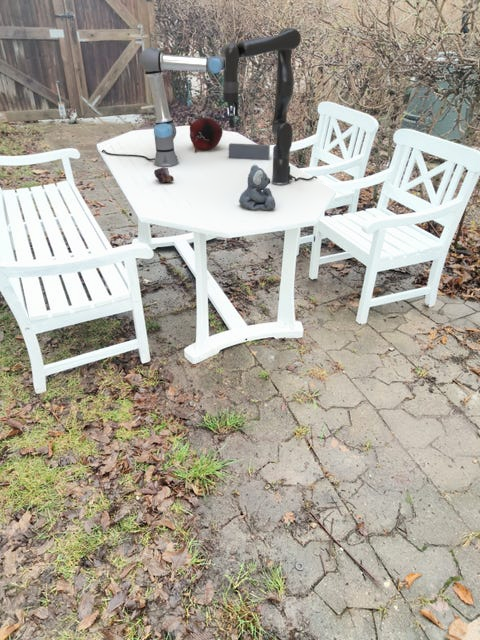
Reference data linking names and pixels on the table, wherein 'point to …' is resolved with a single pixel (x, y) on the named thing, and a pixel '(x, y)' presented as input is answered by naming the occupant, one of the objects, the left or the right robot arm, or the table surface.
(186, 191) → the table surface
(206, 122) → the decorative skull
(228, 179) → the table surface
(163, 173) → the rock
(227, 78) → the right robot arm
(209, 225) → the table surface
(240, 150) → the bar
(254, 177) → the koala plush
